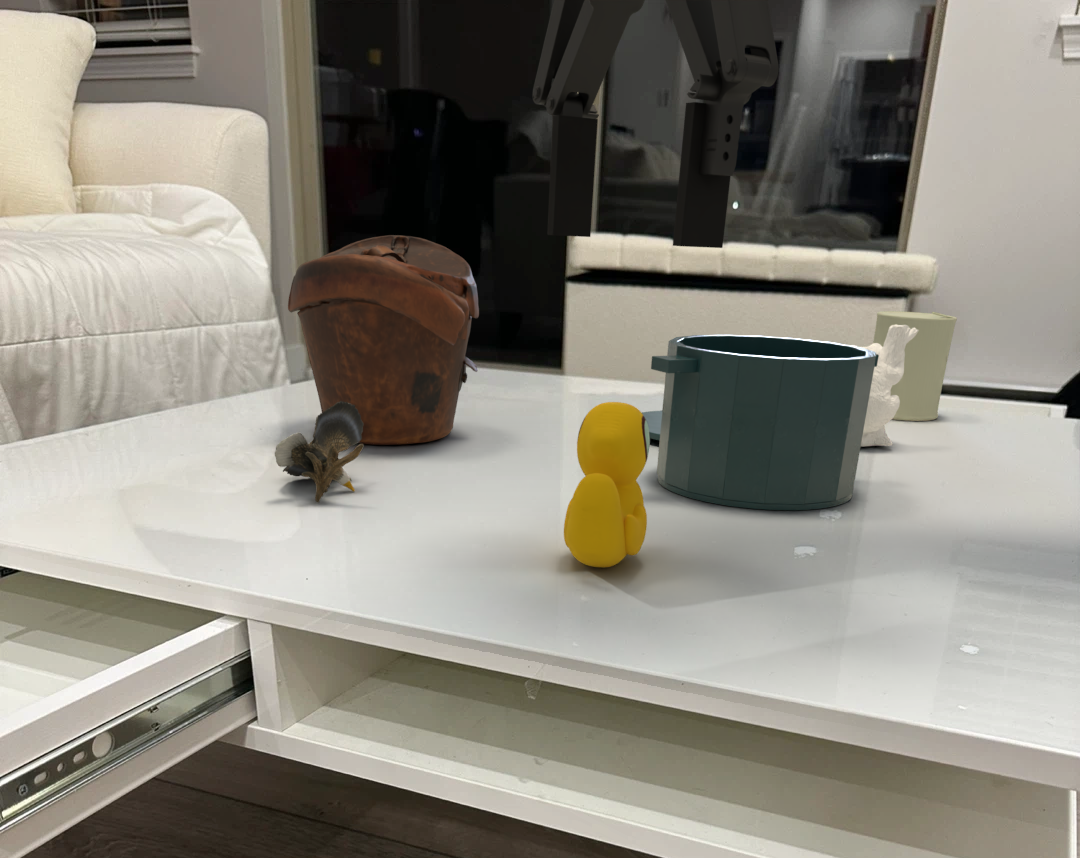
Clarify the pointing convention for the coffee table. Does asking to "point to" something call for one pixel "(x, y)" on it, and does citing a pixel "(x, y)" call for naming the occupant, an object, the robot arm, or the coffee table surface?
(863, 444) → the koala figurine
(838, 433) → the pot
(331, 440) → the eagle figurine
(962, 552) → the coffee table surface
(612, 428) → the duckling
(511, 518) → the coffee table surface
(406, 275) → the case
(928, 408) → the green tapered cup
